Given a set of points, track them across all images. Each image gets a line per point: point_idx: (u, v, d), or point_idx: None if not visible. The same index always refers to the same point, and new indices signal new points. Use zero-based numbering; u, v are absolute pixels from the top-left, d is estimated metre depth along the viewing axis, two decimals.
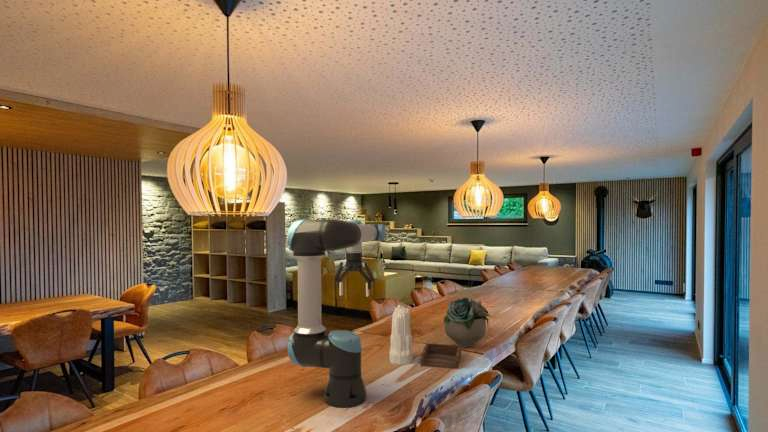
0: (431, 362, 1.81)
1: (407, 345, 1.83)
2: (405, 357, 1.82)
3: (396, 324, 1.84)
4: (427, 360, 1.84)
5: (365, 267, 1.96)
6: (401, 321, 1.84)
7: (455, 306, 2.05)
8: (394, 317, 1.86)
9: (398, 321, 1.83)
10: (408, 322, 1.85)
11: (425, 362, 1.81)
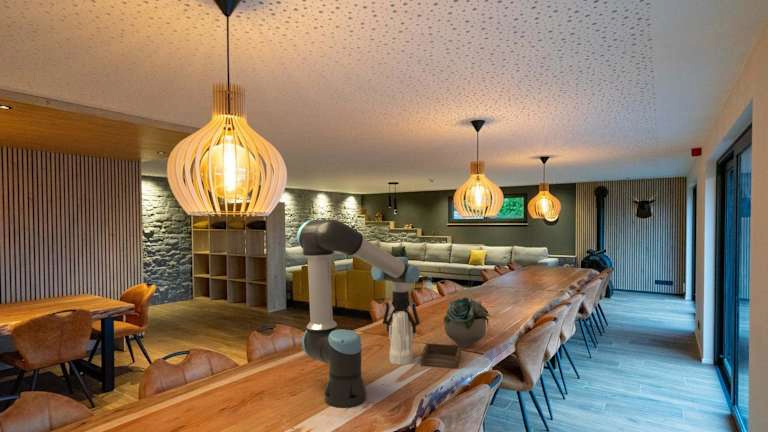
0: (431, 362, 1.81)
1: (407, 345, 1.83)
2: (405, 357, 1.82)
3: (396, 324, 1.84)
4: (427, 360, 1.84)
5: (412, 308, 1.85)
6: (401, 321, 1.84)
7: (455, 306, 2.05)
8: (394, 317, 1.86)
9: (398, 321, 1.83)
10: (408, 322, 1.86)
11: (425, 362, 1.81)
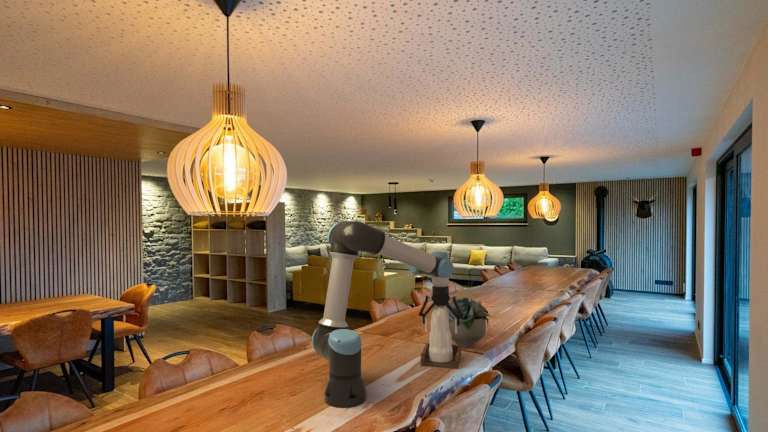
0: (431, 362, 1.81)
1: (447, 343, 1.82)
2: (446, 355, 1.81)
3: (436, 321, 1.83)
4: (427, 360, 1.84)
5: (454, 302, 1.83)
6: (441, 318, 1.83)
7: None
8: (433, 315, 1.85)
9: (438, 318, 1.82)
10: (447, 319, 1.85)
11: (425, 362, 1.81)
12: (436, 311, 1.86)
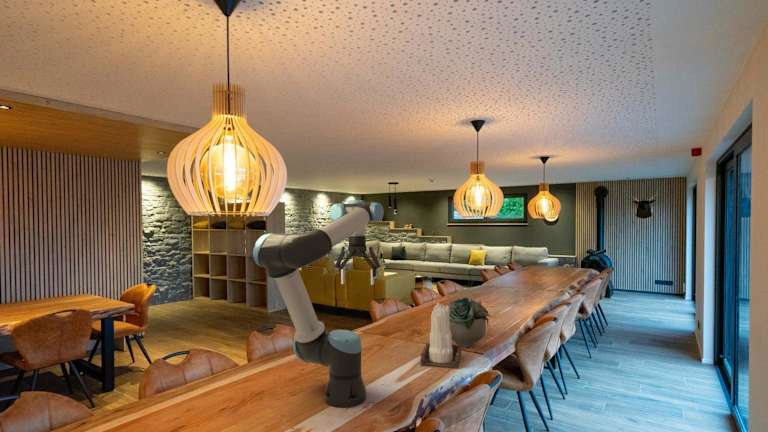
0: (431, 362, 1.81)
1: (447, 343, 1.82)
2: (446, 355, 1.80)
3: (436, 322, 1.83)
4: (427, 360, 1.84)
5: (370, 252, 1.76)
6: (441, 319, 1.82)
7: (455, 306, 2.05)
8: (434, 315, 1.85)
9: (438, 319, 1.82)
10: (448, 320, 1.84)
11: (425, 362, 1.81)
12: (437, 311, 1.85)
